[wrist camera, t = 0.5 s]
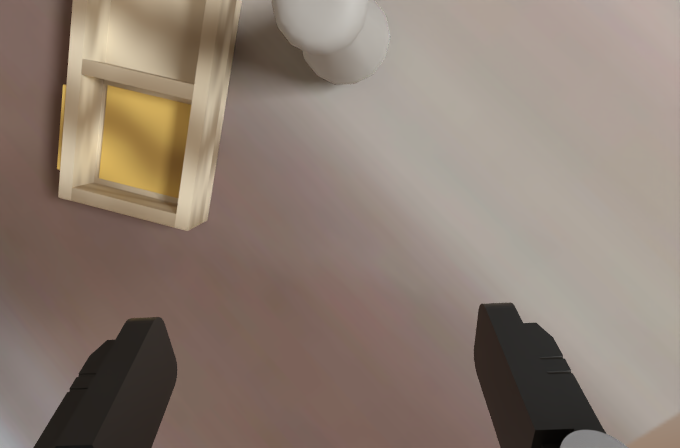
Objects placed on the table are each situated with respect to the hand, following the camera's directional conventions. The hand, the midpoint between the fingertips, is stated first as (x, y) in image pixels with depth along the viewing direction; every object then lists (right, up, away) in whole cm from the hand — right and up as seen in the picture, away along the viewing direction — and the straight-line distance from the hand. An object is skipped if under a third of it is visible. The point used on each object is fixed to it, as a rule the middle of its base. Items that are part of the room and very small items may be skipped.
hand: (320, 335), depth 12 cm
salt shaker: (+1, +15, +21) cm, 26 cm away
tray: (-12, +18, +22) cm, 30 cm away
